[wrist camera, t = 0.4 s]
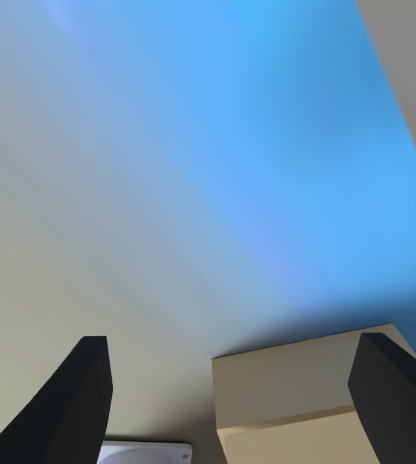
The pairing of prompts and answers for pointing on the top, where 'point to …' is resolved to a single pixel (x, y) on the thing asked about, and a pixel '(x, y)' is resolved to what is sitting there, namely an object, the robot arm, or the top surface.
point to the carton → (288, 382)
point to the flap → (304, 443)
